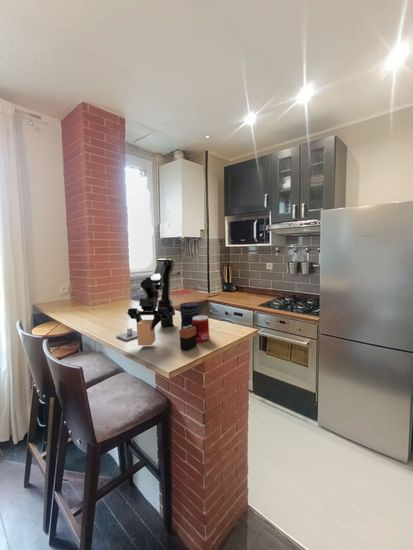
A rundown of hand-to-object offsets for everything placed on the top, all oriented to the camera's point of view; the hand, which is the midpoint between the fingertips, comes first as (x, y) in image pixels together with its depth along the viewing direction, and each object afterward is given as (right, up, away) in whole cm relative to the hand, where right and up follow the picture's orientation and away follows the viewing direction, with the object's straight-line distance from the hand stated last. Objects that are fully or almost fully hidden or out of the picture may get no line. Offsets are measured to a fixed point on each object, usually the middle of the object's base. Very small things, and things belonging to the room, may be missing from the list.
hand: (144, 329), depth 116 cm
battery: (+20, -8, -1) cm, 21 cm away
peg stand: (-12, -7, +18) cm, 23 cm away
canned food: (+25, -7, +9) cm, 28 cm away
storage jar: (+19, -6, +22) cm, 30 cm away
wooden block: (+1, -6, +2) cm, 7 cm away
